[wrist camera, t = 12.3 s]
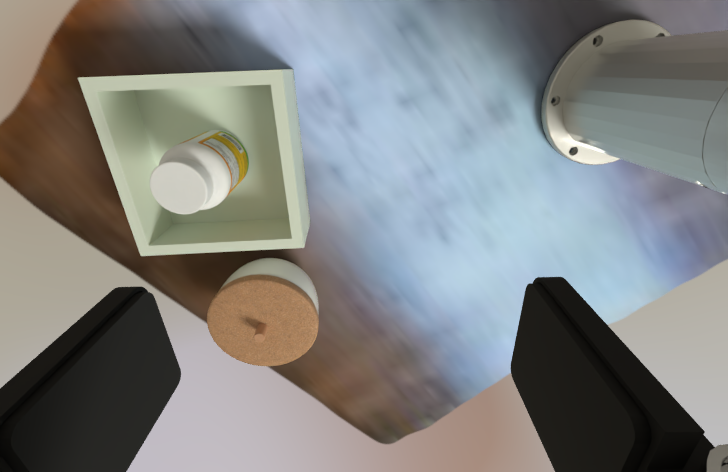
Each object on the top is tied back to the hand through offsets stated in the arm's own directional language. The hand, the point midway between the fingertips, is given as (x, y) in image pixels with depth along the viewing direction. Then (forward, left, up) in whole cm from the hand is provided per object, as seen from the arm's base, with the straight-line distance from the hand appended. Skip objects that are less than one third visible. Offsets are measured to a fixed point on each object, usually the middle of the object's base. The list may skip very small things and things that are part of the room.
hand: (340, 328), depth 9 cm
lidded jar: (+9, +16, -28) cm, 34 cm away
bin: (+12, +1, -28) cm, 31 cm away
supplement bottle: (+12, +1, -27) cm, 30 cm away
